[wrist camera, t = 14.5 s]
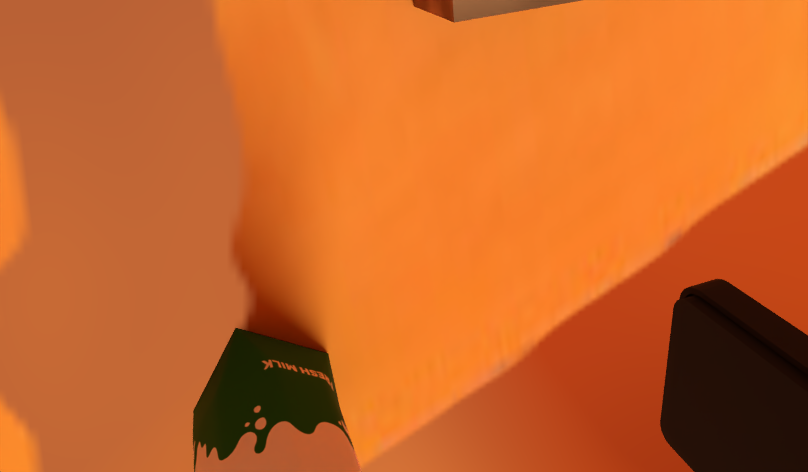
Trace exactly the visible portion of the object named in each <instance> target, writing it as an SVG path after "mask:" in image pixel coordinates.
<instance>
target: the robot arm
mask: <svg viewBox="0 0 808 472" xmlns="http://www.w3.org/2000/svg"><path fill="white" fill-rule="evenodd" d="M660 424H661V430H662V433H663V435H664V437H665V439H666V441H667V442H668V444H669V445H670V446H671V447H672V448H673V449H674V450H675V451H676V453H677V454H678V455H679V456H680V457H681V458H682V459H683V460H684V461H685V462H686V463H687V464H688V465H689V466H690V468H691V469H692V470H693V471H694V472H808V335H806V334H805V333H803V332H802V331H800V330H799V329H797V328H796V327H794V326H793V325H791V324H790V323H788V322H787V321H785V320H784V319H782V318H781V317H779V316H778V315H776V314H775V313H773V312H772V311H770V310H769V309H767V308H766V307H764V306H763V305H761V304H760V303H759V302H757V301H756V300H754V299H753V298H751V297H749V296H748V295H746V294H745V293H744V292H742V291H741V290H739V289H738V288H736V287H735V286H733V285H732V284H730V283H729V282H727V281H725V280H722V279H715V280H711V281H708V282H705V283H701V284H698V285H694V286H691V287H688V288H686V289H684V290H683V291H682V293H681V295H680V299H679V300H677V302H676V303H675V305H674V308H673V318H672V326H671V334H670V343H669V351H668V360H667V369H666V377H665V386H664V395H663V404H662V412H661V420H660Z"/></svg>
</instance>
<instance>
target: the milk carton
mask: <svg viewBox="0 0 808 472" xmlns="http://www.w3.org/2000/svg"><path fill="white" fill-rule="evenodd" d="M193 413H194V418H193V451H194V472H362V471H361V469H360V466H359V463H358V460H357V457H356V454H355V451H354V448H353V445H352V442H351V439H350V436H349V433H348V430H347V427H346V424H345V422H344V419H343V416H342V413H341V410H340V407H339V402H338V397H337V393H336V388H335V383H334V379H333V374H332V370H331V365H330V360H329V356H328V353H324V352H321V351H317V350H314V349H310V348H306V347H303V346H299V345H296V344H292V343H288V342H285V341H281V340H278V339H274V338H270V337H267V336H263V335H260V334H256V333H252V332H249V331H245V330H242V329H238V328H235V330H234V332H233V334H232V336H231V338H230V340H229V342H228V344H227V346H226V348H225V350H224V352H223V354H222V356H221V358H220V360H219V362H218V364H217V366H216V368H215V370H214V371H213V373H212V375H211V378H210V380H209V381H208V383H207V386H206V387H205V389H204V391H203V393H202V395H201V397H200V399H199V401H198V403H197V405H196V407H195V409H194V411H193Z"/></svg>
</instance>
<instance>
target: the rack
mask: <svg viewBox="0 0 808 472" xmlns="http://www.w3.org/2000/svg"><path fill="white" fill-rule="evenodd" d="M575 1H581V0H413V2H414V6H415V7H417V8H420V9H422V10H425V11H427V12H430V13H432V14H435V15H437V16H440V17H442V18H445V19H447V20H450V21H452V22H459V21H465V20H471V19H476V18H482V17H488V16H494V15H500V14H506V13H511V12H517V11H523V10H529V9H535V8H540V7H546V6H552V5H558V4H564V3H570V2H575Z"/></svg>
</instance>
